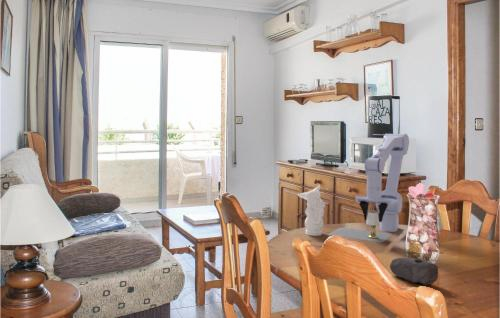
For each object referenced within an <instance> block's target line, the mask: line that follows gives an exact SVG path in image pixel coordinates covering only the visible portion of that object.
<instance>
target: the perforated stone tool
mask: <svg viewBox="0 0 500 318" xmlns="http://www.w3.org/2000/svg"><path fill="white" fill-rule="evenodd" d="M389 269H390V271H391V273H393V275H394V276H396V277H398V278H400V279H401V278H403V279H404V281H407V282H411V283H414V284H417V283H419V284H422V285H424V286H427V285H433V284H434V283H435V282H436V281H437V280H438V279H439V278H438V277H439V266H437V265H436V264H435V263H434V262H433V263H432V262H430V261H427V260H422V259H419V258H413V257H397V258H396V257H395V258H394V259H392V260H391V262H390V264H389Z"/></svg>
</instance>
